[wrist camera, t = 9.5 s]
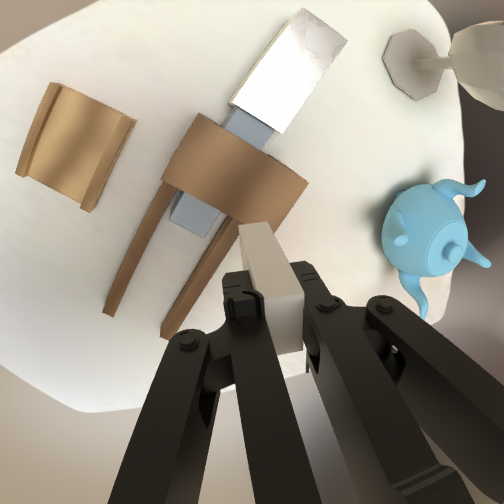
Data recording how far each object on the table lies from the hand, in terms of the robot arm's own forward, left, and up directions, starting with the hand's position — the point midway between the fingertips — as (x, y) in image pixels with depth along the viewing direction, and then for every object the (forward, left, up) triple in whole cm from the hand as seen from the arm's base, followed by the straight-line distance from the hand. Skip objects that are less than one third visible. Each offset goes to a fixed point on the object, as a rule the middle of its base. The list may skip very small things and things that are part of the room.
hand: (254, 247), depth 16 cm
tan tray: (-16, -4, -16) cm, 23 cm away
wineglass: (+10, +24, -17) cm, 31 cm away
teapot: (+22, +8, -17) cm, 29 cm away
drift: (-1, 0, -17) cm, 17 cm away
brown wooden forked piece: (-1, -8, -16) cm, 18 cm away
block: (-1, +12, -17) cm, 20 cm away
